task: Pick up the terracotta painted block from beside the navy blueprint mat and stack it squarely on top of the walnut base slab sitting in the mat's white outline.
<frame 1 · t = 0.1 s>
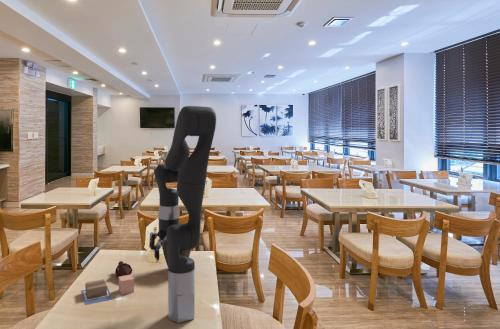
hand: (168, 257, 138), 17 cm above the table, tool pointing down, fingers open, 8 cm apart
walnut base: (96, 293, 143), resting on blueprint mat
blueprint mat: (96, 295, 143), on the table
terracotta block: (126, 292, 147), on the table
plant pot: (177, 270, 171), on the table
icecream: (123, 278, 160), on the table
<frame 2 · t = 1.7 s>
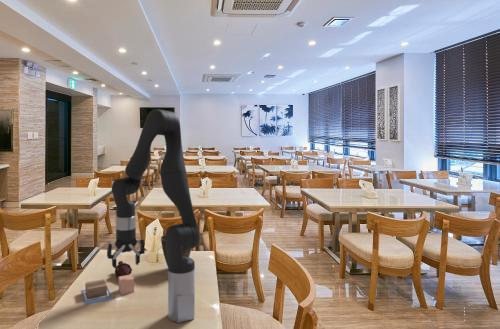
hand: (126, 265, 146), 11 cm above the table, tool pointing down, fingers open, 8 cm apart
nothing on the table moved.
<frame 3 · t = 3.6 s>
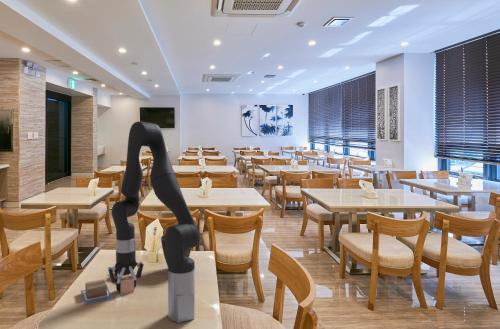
hand: (126, 289, 146), 1 cm above the table, tool pointing down, fingers closed on terracotta block, 5 cm apart
terracotta block: (126, 291, 147), on the table, touching gripper
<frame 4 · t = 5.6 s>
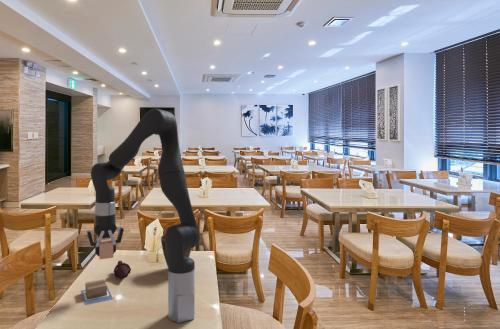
hand: (105, 254, 144), 16 cm above the table, tool pointing down, fingers closed on terracotta block, 5 cm apart
terracotta block: (105, 256, 144), point 15 cm above the table, touching gripper
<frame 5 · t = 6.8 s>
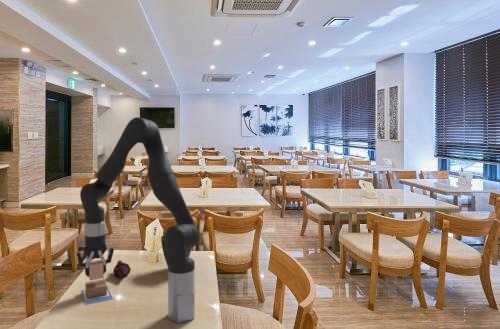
hand: (95, 274, 143), 8 cm above the table, tool pointing down, fingers closed on terracotta block, 5 cm apart
terracotta block: (95, 276, 143), point 7 cm above the table, touching gripper
when the fingers open (7 cm above the table, at t = 7.9 s): terracotta block drops 1 cm, resting on walnut base.
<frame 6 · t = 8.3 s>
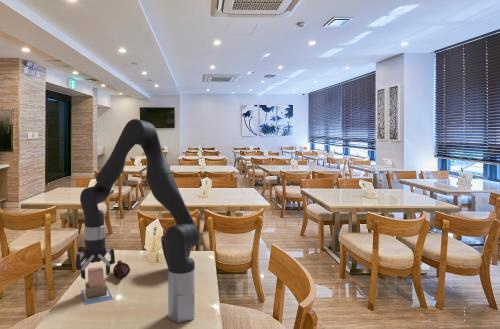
hand: (95, 276, 143), 7 cm above the table, tool pointing down, fingers open, 8 cm apart
walnut base: (96, 293, 143), resting on blueprint mat, touching terracotta block
terracotta block: (95, 284, 143), point 4 cm above the table, touching walnut base
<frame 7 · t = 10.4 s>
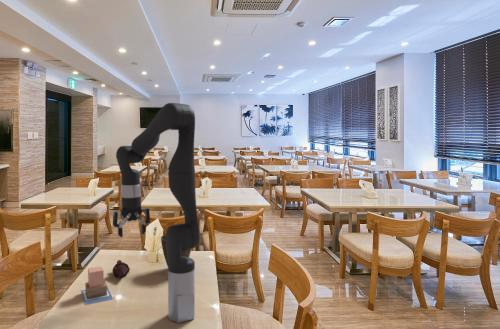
hand: (132, 235, 145), 23 cm above the table, tool pointing down, fingers open, 8 cm apart
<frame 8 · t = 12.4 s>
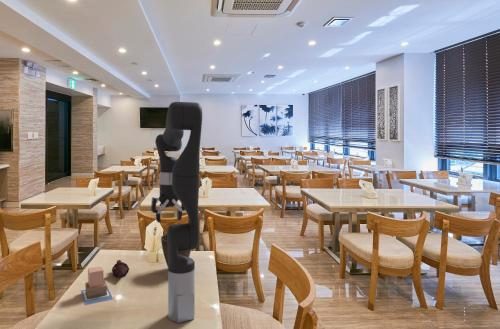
hand: (169, 221, 150), 28 cm above the table, tool pointing down, fingers open, 8 cm apart
at the end: terracotta block 0.0 cm off-centre on the walnut base, point 4.0 cm above the walnut base's base; terracotta block tilted 0°; walnut base moved 0.0 cm from its start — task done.
